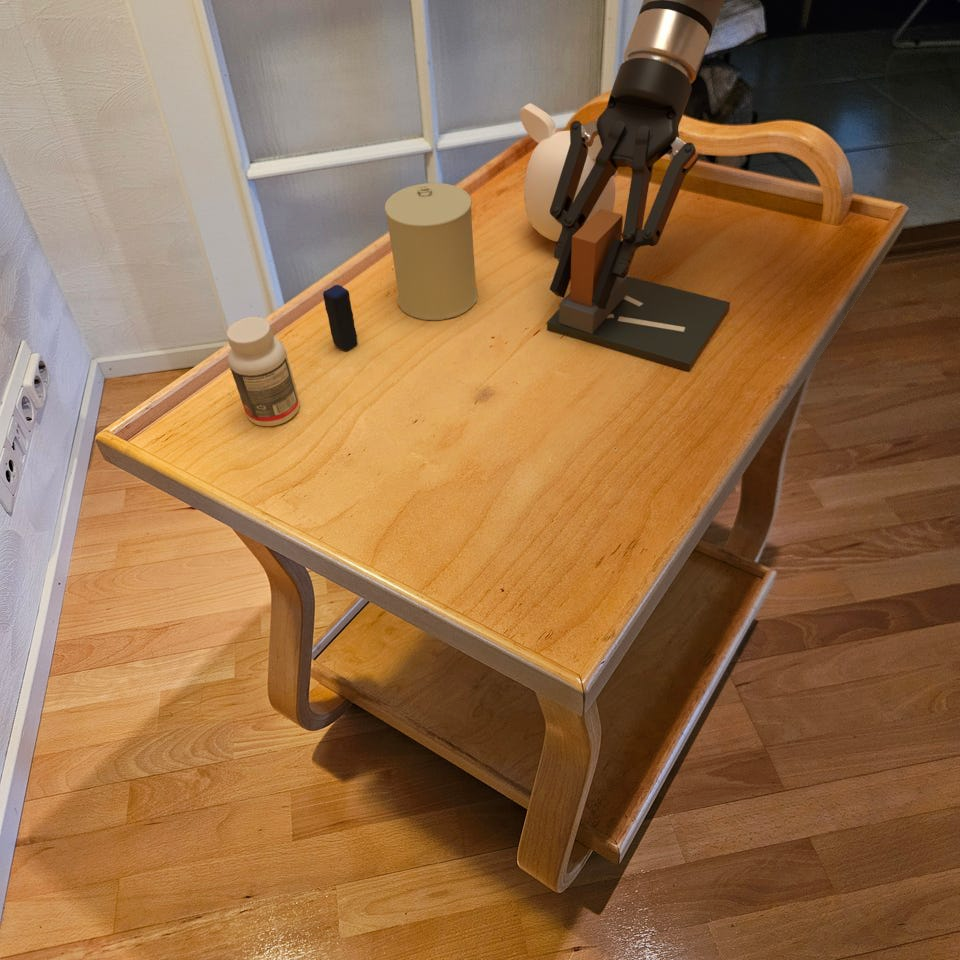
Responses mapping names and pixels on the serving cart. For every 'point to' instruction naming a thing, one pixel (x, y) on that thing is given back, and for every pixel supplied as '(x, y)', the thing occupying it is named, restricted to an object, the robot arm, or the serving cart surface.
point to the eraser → (340, 317)
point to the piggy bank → (554, 171)
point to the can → (432, 250)
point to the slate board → (655, 324)
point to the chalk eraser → (591, 272)
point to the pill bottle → (261, 372)
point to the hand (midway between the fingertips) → (577, 299)
